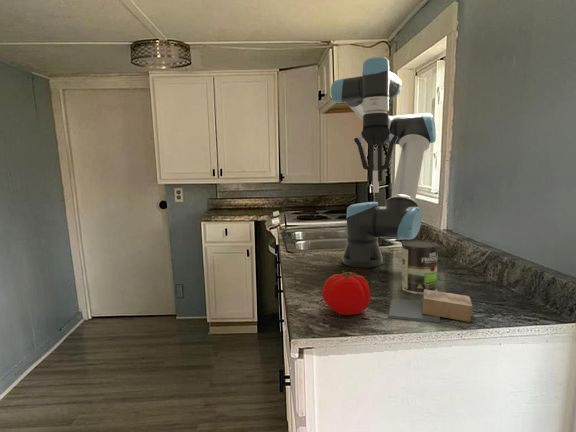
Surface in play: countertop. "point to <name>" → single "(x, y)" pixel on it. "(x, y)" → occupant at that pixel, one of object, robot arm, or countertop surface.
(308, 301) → the countertop surface
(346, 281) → the tomato
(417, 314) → the rubber mat
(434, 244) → the coffee can
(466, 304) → the tan rectangular block
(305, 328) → the countertop surface
